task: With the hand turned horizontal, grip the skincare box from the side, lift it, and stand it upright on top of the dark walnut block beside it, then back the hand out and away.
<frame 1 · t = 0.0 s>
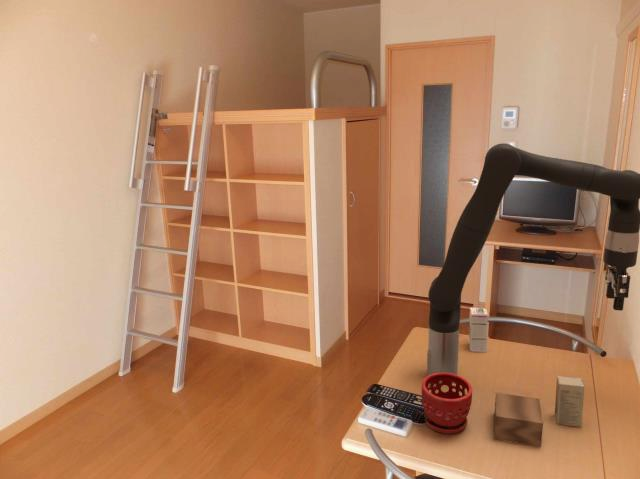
hand: (614, 303, 132), 29 cm above the table, tool pointing down, fingers open, 8 cm apart
syrup box: (477, 348, 171), on the table
skincare box: (566, 421, 130), on the table
walnut block: (516, 430, 128), on the table
plant pot: (445, 424, 131), on the table
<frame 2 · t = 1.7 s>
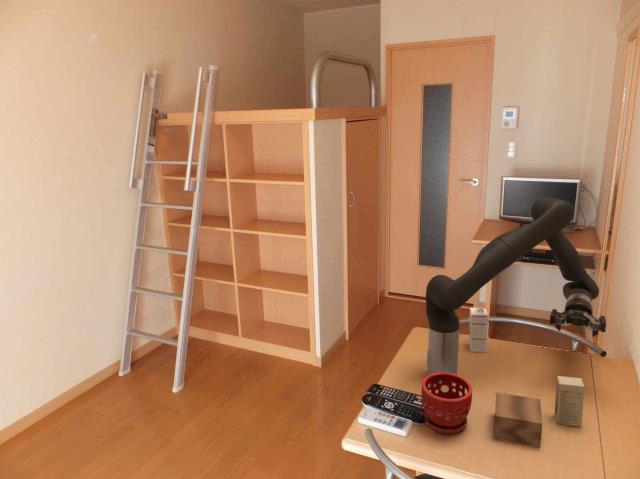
hand: (576, 330, 134), 22 cm above the table, tool horizontal, fingers open, 8 cm apart
nothing on the table moved.
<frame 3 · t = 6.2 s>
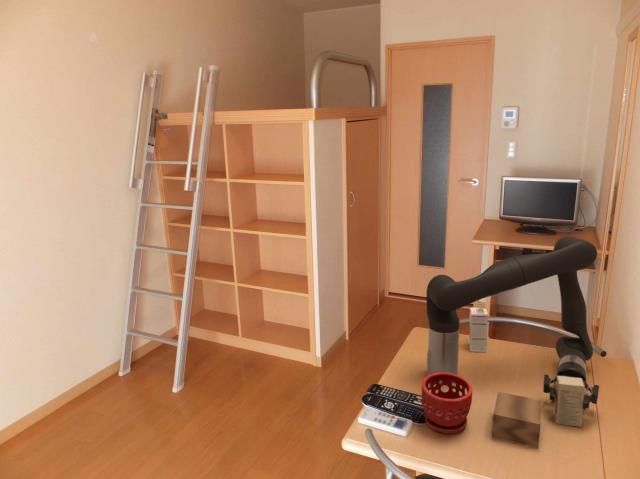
hand: (569, 402, 127), 7 cm above the table, tool horizontal, fingers closed on skincare box, 6 cm apart
skincare box: (566, 421, 130), on the table, touching gripper
everything else where it was.
when the fingers open (15 cm above the table, at t = 10.7 s): skincare box drops 1 cm, resting on walnut block.
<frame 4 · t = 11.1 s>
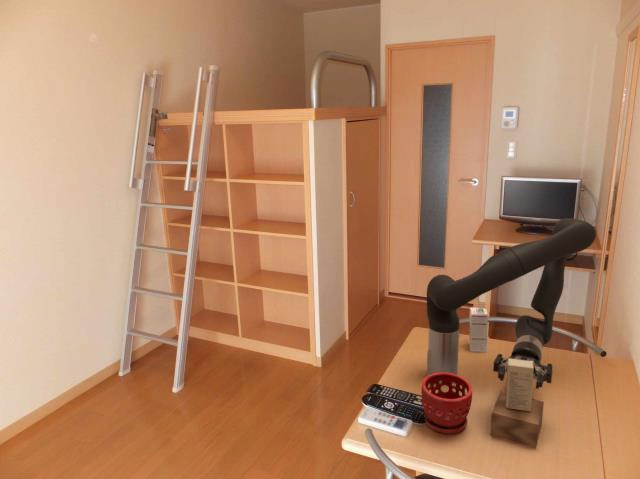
hand: (519, 381, 122), 15 cm above the table, tool horizontal, fingers open, 8 cm apart
skincare box: (517, 406, 126), point 7 cm above the table, touching walnut block
walnut block: (516, 430, 128), on the table, touching skincare box
everything else where it was.
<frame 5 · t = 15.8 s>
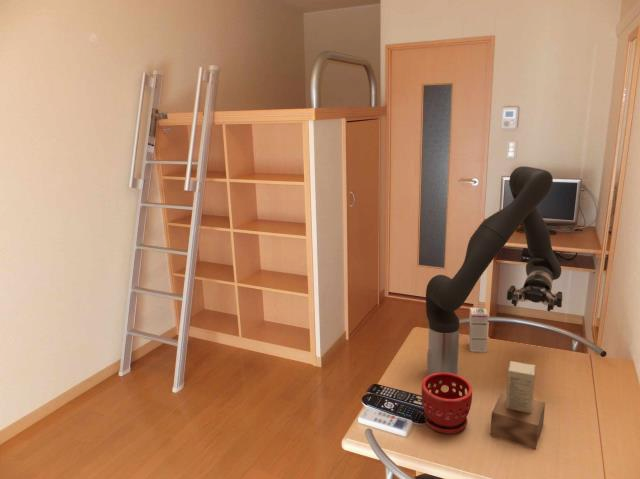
hand: (531, 305, 131), 30 cm above the table, tool horizontal, fingers open, 8 cm apart
at the end: skincare box inside the target area on the walnut block (0.3 cm from its centre), point 7.0 cm above the walnut block's base; skincare box tilted 3°; the gripper is holding nothing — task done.
